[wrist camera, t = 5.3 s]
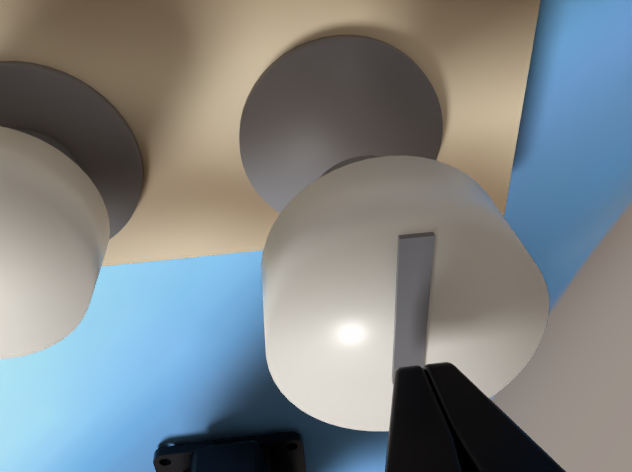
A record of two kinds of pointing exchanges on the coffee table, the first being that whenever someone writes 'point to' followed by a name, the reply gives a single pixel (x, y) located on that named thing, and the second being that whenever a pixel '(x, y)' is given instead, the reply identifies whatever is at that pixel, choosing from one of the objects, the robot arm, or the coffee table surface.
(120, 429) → the coffee table surface
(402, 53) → the panel
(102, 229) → the knob
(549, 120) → the coffee table surface
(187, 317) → the coffee table surface
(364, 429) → the knob
